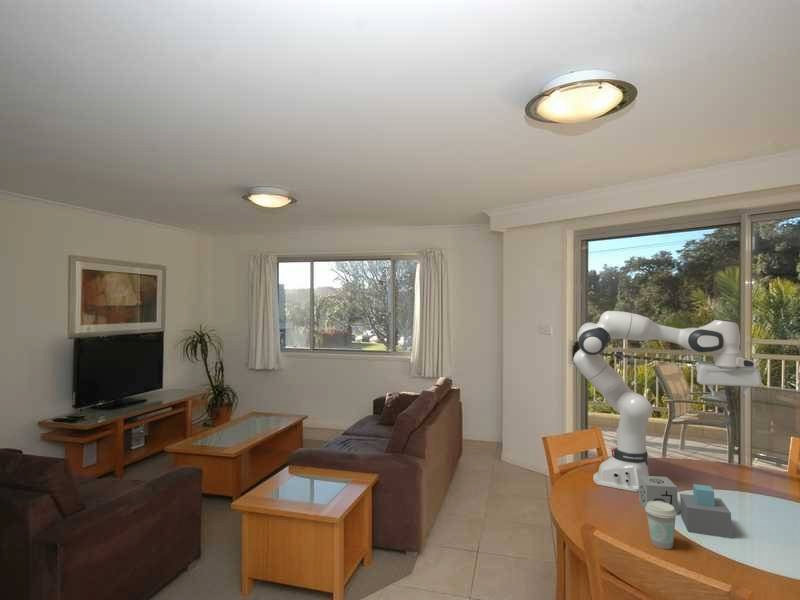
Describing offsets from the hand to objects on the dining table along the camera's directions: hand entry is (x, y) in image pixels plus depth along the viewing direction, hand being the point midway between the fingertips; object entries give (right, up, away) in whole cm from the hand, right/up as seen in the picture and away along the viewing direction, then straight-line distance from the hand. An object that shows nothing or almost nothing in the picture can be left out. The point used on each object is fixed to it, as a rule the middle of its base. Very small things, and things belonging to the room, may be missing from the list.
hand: (728, 397), depth 172 cm
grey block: (-24, -39, -22) cm, 51 cm away
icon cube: (-32, -40, -7) cm, 51 cm away
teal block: (-25, -31, -22) cm, 45 cm away
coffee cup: (-45, -39, -33) cm, 68 cm away
